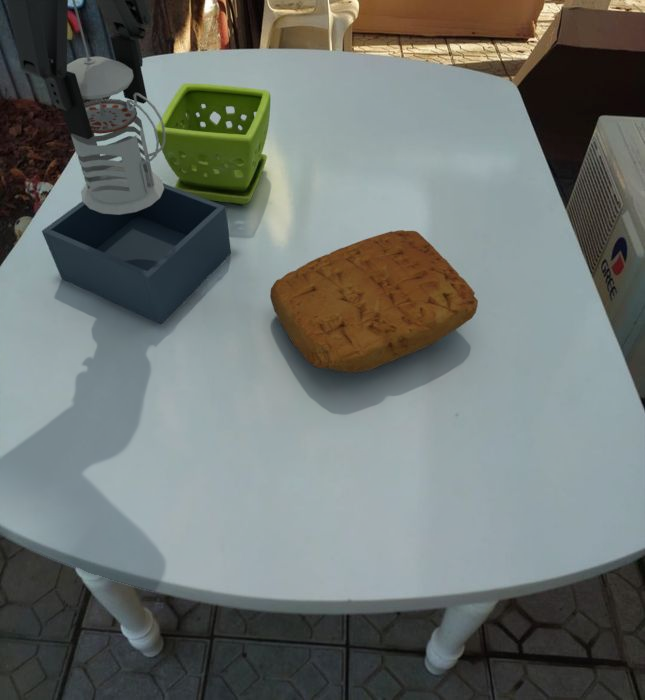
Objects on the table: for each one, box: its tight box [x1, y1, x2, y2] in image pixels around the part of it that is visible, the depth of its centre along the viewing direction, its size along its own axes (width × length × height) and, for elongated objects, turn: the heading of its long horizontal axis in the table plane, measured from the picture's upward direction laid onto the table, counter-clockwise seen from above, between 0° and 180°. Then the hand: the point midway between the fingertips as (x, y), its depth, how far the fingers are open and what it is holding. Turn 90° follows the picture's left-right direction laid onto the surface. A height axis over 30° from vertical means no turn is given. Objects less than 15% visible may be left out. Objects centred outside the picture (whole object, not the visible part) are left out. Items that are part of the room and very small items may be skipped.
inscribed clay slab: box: [269, 229, 479, 374], centre depth 71 cm, size 22×17×8 cm
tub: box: [41, 182, 232, 325], centre depth 77 cm, size 17×16×8 cm
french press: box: [67, 0, 166, 215], centre depth 62 cm, size 10×12×25 cm
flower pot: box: [156, 82, 271, 206], centre depth 88 cm, size 14×14×13 cm
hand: (109, 115), depth 64 cm, fingers closed on french press, 8 cm apart
